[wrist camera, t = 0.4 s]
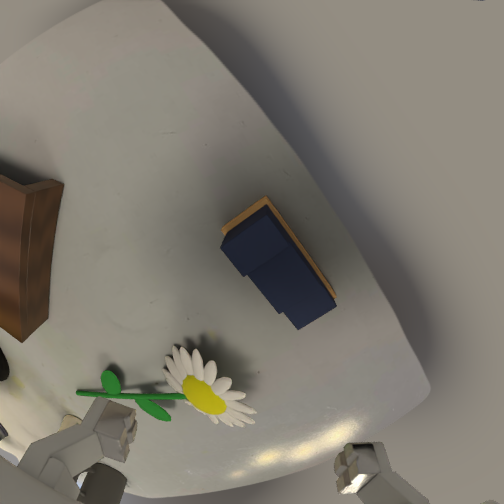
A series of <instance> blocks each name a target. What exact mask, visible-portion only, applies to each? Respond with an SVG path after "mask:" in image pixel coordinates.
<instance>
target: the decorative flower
mask: <svg viewBox="0 0 504 504" xmlns="http://www.w3.org/2000/svg"><path fill="white" fill-rule="evenodd" d="M172 353H173V358H174V360H173V359H172V358H171V357H169V356H165V361H166V364H167V367H168V369H169V371H170V372H169V371H168V370H166V369H163V373H164V374H165V376H166V381H167V382H168V384H169V385H170V386H171V387H172V388H173V389H174V390H176V392H177V393H162V394H134V393H120V392H121V386H120V382H119V380H118V379H117V377H116V375H115V374H114V373H113V372H112V371H108V370H105V371H104V372H103V373H102V375H101V382H102V386H103V388H104V389H105V391H106V392H107V393H105V392H89V391H76V394H77V395H80V396H91V397H98V396H100V397H103V398H119V399H135V402H136V403H137V404H138V405H139V406H140V408H141V409H143V410H144V411H145V412H147V413H148V414H150V415H151V416H153V417H155V418H157V419H158V420H162V421H171V416H170V415H169V414H168V413H167V412H166V411H165V410H164V409H163V408H162V407H160V406H159V405H157V404H156V403H154V402H152V401H151V400H149V399H154V400H167V399H183V400H184V402H185V403H186V404H188V405H191V406H194V408H195V409H196V410H197V411H199V412H200V413H202V414H207V415H208V417H209V418H210V419H211V420H212V421H213V422H214V423H215V424H219V420H218V418H219V419H220V420H221V421H223V422H224V423H226V424H227V425H229V426H232V427H234V424H236V425H238V426H240V427H246V426H245V424H244V423H243V422H246V423H249V424H255V422H254V420H252V419H251V418H250V417H249V416H247V415H246V414H244V413H247V414H255V413H257V412H256V411H255V410H254V409H253V408H251V407H249V406H248V405H246V404H243V403H241V402H239V401H237V400H240V399H243V398H244V397H246V394H245V393H243V392H241V391H234V390H228V389H229V388H230V387H231V384H232V379H230V378H229V377H221V378H219V379H216V374H217V367H216V363H215V362H214V361H209V362H208V363H207V364H206V365H205V368H204V366H203V360H202V357H201V355H200V352H199V351H198V350H197V349H195V350H193V354H192V358H191V356H190V355H189V353H188V352H187V351H186V349H185V348H183V347H181V348H180V352H179V351H178V349H177V348H176V347H175V346H173V347H172ZM215 379H216V380H215ZM180 384H181V385H180ZM243 412H244V413H243ZM217 417H218V418H217ZM242 421H243V422H242ZM233 423H234V424H233Z"/></svg>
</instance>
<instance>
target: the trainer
mask: <svg viewBox="0 0 504 504" xmlns="http://www.w3.org/2000/svg"><path fill="white" fill-rule="evenodd" d="M221 231H222V232H223V233H224V235H225V238H224V240H223V242H222V245H221V247H220V248H221V250H222V251H223V252H224V253H225V255H226V256H227V257H228V258H229V260H230V261H231V262H232V263H233V265H234V266H235V267H236V268H237V270H238V271H239V272H240V273H241V275H242V276H243V277H244V276H246V275H248V276H249V278H250V279H251V280H252V281H253V283H254V284H255V285H256V286H257V287H258V289H259V290H260V291H261V292H262V294H263V295H264V296H265V297H266V299H267V300H268V301H269V302H270V304H271V305H272V306H273V307H274V308H275V310H276V311H277V312H278V313H279V314H280V313H282V312H284V314H285V315H286V316H287V317H288V318H289V320H290V321H291V322H292V323H293V325H294V326H295V327H296V328H297V330H299V329H301V328H302V327H304V326H306V325H307V324H309V323H311V322H312V321H314V320H316V319H317V318H319V317H321V316H322V315H324V314H326V313H327V312H329V311H330V310H332V309H334V308H335V307H336V306H337V305H336V303H335V301H334V299H335V298H336V294H335V292H334V291H333V289H332V288H331V286H330V285H329V283H328V282H327V280H326V279H325V277H324V276H323V275H322V273H321V272H320V270H319V269H318V267H317V266H316V264H315V263H314V262H313V260H312V259H311V257H310V256H309V254H308V253H307V251H306V250H305V249H304V247H303V246H302V244H301V243H300V242H299V240H298V239H297V237H296V236H295V235H294V233H293V232H292V230H291V229H290V228H289V226H288V225H287V223H286V222H285V221H284V219H283V218H282V216H281V215H280V214H279V212H278V211H277V210H276V208H275V207H274V206H273V204H272V203H271V201H270V200H269V199H268V197H267V196H264V197H263V198H261V199H260V200H259V201H257V202H256V203H254V204H253V205H252V206H250V207H249V208H247V209H246V210H245V211H243V212H242V213H241V214H239V215H238V216H236V217H235V218H234V219H232V220H231V221H230V222H228V223H227V224H225V225H224V226H223V227H222V229H221Z"/></svg>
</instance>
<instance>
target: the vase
mask: <svg viewBox="0 0 504 504" xmlns="http://www.w3.org/2000/svg"><path fill="white" fill-rule="evenodd" d="M6 436H8V433H7V431H6V430H5V428H4V427H3V426H2V425H1V423H0V440H2V439H3V438H5V437H6Z"/></svg>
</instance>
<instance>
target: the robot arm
mask: <svg viewBox="0 0 504 504" xmlns="http://www.w3.org/2000/svg"><path fill="white" fill-rule="evenodd" d="M135 416H136V409H133V408H130V407H127V406H124V405H122V404H119V403H116V402H113V401H111V400H108V399H106V398H103V397H100V396H98V397H97V398H96V399H95V400H94V402H93V404H92V405H91V407H90V409H89V411H88V412H87V414H86V416H85V417H84V419H83V421H82V423H81V424H80V425H79V424H75V425H73V426H71V427H69V428H66V429H64V430H62V431H60V432H57V433H55V434H53V435H50V436H48V437H46V438H43V439H41V440H38V441H36V442H34V443H31V445H30V446H29V448H28V449H27V451H26V453H25V454H24V456H23V458H22V459H21V461H20V462H19V464H18V466H17V467H16V466H15V465H13V464H12V463H10V462H9V461H8V460H6V459H5V458H3V457H2V456H1V455H0V504H83V503H81V502H79V501H77V498H78V495H79V493H80V489H79V487H78V485H77V484H76V482H75V481H74V479H73V477H74V476H76V475H77V474H79V473H81V472H82V471H84V470H85V469H87V468H89V467H90V466H92V465H93V464H95V463H96V462H98V461H99V460H101V459H102V458H104V456H105V457H108V458H111V459H114V460H117V461H120V462H123V463H125V461H126V459H127V456H128V454H129V451H130V449H129V444H130V443H132V442H133V441H134V438H135V435H136V431H137V421H136V420H135ZM334 471H335V473H336V475H337V476H338V477H339V478H338V479H337V481H336V483H337V490H338V494H350V493H357V496H358V497H359V498H360V499H361V500H362V502H363V503H364V504H429V500H428V499H427V498H426V497H424V496H423V495H422V494H421V493H420V492H418V491H417V490H416V489H415V488H414V487H413V486H411V485H410V484H409V483H408V482H407V481H405V480H404V479H403V478H402V477H401V476H400V475H398V474H397V473H396V472H392V470H391V466H390V463H389V460H388V457H387V453H386V450H385V448H384V444H383V443H382V442H359V443H347V444H346V445H345V446H344V451H342V452H340V453H339V454H338V455H337V457H336V459H335V463H334ZM482 504H499V503H498V502H496V501H494V500H489V501H486V502H484V503H482Z"/></svg>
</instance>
